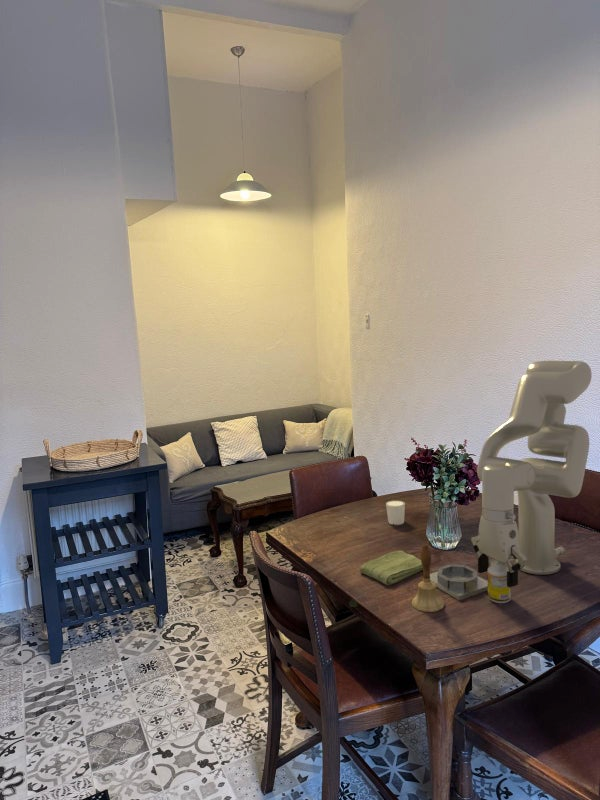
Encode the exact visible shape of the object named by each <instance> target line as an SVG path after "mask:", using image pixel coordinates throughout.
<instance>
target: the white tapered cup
mask: <svg viewBox="0 0 600 800" xmlns="http://www.w3.org/2000/svg"><path fill="white" fill-rule="evenodd" d="M385 507H386V513H387V514H386V515H387V520H388V521H387V522H389V524H390V525H393V524H394V525H395V526H400V525H403V524H404V523H405V510H406V509H405V507H406V502H404V501H402V500H389V501H387V502H385Z"/></svg>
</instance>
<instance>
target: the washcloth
mask: <svg viewBox="0 0 600 800" xmlns="http://www.w3.org/2000/svg"><path fill="white" fill-rule="evenodd" d="M359 571H360V573H361V574H363V575H366V576H368V577H370V578H373V579H375V580H376V581H377V582H381V583H382V584H384V585H387V586H391V585H393V584H394V585H395V584H396V583H398V582H401V581H402V580H405V579H407V578H409V577H410V576H412V575H415V574H417V573H419V572H421V571H423V566H422V563H421V558H420V559H419V558H418V557H416V556H415V555H413V554H409V553H406V552H405V551H403V550H396V551H390V552H388V553H387V554H384V555H381V556H379V557H378V558H375V559H371V560H369V561H367V562H364V563H363V564H361V565H360V567H359Z"/></svg>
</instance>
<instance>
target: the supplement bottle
mask: <svg viewBox="0 0 600 800" xmlns="http://www.w3.org/2000/svg"><path fill="white" fill-rule="evenodd" d="M508 571H509V570H508V568H507V566H506V564H505V562H502V561H499V560H497V559H495V558H492V559H490V564H489V567H488V571H487V581H488V590H487V597H488V599H489V600H490V601H491V602H493V603H496V604H506V603H508V602H510V601H511V596H512V595H511V592H512V591H511V590H512V589H511V588H512V587H510V588H509V587H507V572H508Z"/></svg>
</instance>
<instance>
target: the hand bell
mask: <svg viewBox="0 0 600 800" xmlns="http://www.w3.org/2000/svg"><path fill="white" fill-rule="evenodd" d="M428 545H429V544H427V543H423V544H422V546H421V547H422V548H421V549H420V560H421V563H422V566H423V570H422V573H423V576H422V578H423V579H422V581H420V582H419V583H418V584H417V585H418V588H417V592H416V595H415V597H414V598H412V601H411V606H412V607H413V608H414V609H415V610H417V611H420V612H425V613H433V612H435V613H436V612H438V611H440V610H442V609H444V607H445V605H446V604H445V601H444V599H442V597H440V596H439V593H438V588H437V587H436V584H435V583H434V582H432V581H430V574H431V573H430V571H431V570H430V566H431V562H432V554H431V551H430V548H429V546H428Z"/></svg>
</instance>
